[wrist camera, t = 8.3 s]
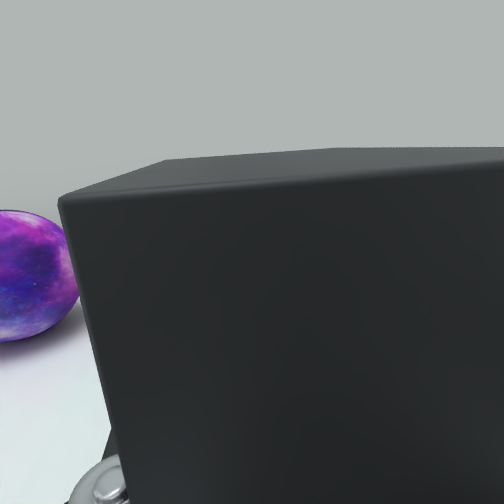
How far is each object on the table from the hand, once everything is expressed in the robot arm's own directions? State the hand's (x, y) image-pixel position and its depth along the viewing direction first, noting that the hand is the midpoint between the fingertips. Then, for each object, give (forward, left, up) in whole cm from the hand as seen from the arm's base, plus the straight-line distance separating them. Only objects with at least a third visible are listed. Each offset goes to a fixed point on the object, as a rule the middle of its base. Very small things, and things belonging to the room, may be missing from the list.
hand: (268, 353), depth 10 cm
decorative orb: (+30, -27, -15) cm, 43 cm away
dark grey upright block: (0, +3, -7) cm, 7 cm away
